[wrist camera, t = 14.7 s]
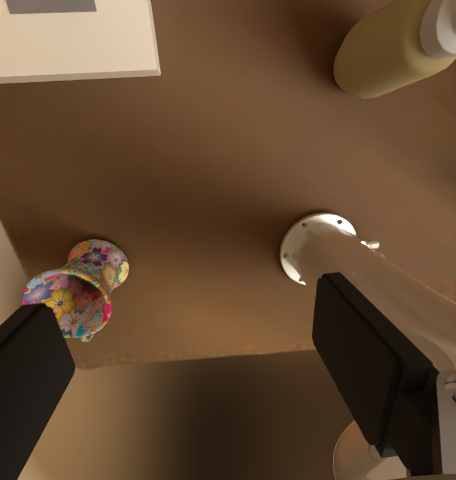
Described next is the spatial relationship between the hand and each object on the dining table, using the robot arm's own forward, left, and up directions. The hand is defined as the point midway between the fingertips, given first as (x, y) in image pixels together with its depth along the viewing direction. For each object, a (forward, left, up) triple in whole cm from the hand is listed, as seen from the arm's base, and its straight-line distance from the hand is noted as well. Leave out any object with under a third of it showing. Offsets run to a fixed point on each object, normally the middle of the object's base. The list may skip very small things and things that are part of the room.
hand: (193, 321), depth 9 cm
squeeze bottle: (-21, -13, -28) cm, 38 cm away
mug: (+16, +12, -28) cm, 35 cm away
